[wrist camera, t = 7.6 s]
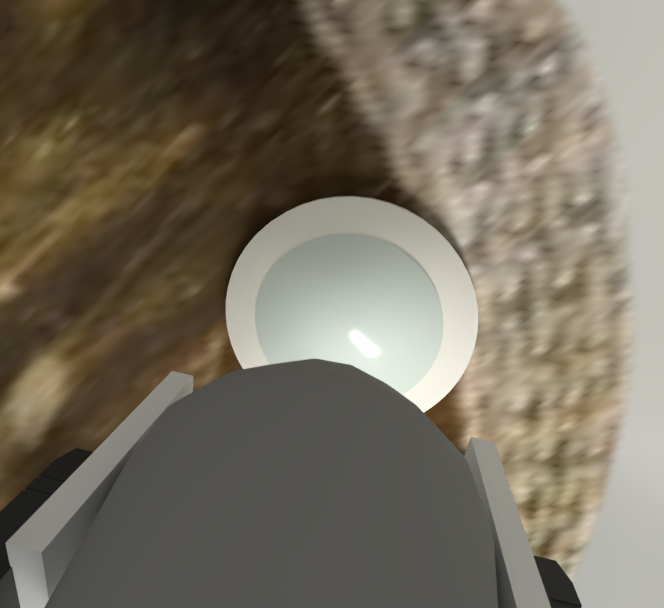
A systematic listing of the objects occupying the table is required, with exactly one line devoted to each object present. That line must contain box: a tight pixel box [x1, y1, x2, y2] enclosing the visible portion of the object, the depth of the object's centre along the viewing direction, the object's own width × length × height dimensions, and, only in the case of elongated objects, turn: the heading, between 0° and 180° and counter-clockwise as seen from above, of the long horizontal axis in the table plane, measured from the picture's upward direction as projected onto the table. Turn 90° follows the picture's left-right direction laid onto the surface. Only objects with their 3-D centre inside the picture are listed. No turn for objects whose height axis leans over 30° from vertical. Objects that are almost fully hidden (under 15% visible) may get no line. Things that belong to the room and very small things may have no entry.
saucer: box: [226, 196, 478, 413], centre depth 23 cm, size 14×14×1 cm
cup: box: [44, 358, 498, 608], centre depth 10 cm, size 10×9×10 cm
